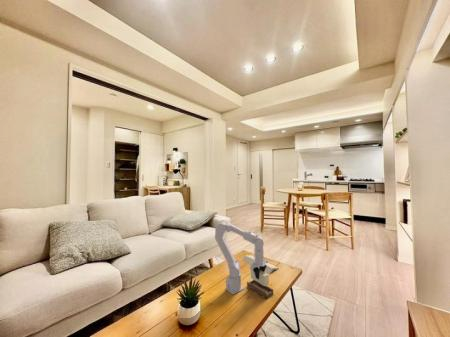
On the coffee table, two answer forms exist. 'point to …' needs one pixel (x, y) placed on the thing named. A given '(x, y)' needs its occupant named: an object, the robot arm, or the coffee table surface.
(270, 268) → the crown molding
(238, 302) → the coffee table surface
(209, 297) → the coffee table surface
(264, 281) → the light grey block
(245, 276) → the coffee table surface
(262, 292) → the rack
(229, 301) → the coffee table surface
